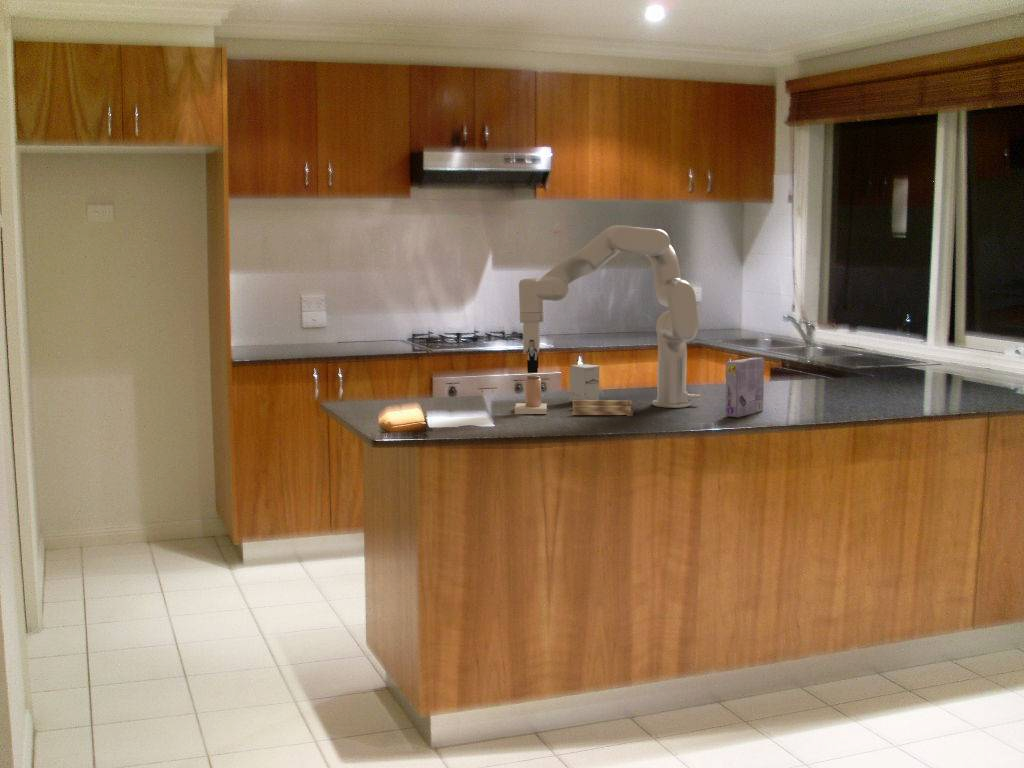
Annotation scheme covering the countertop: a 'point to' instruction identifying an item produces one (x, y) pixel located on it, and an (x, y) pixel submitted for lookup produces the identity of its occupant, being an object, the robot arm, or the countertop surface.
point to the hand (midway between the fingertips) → (533, 370)
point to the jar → (533, 391)
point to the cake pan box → (744, 387)
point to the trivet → (530, 409)
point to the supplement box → (584, 382)
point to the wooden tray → (602, 407)
